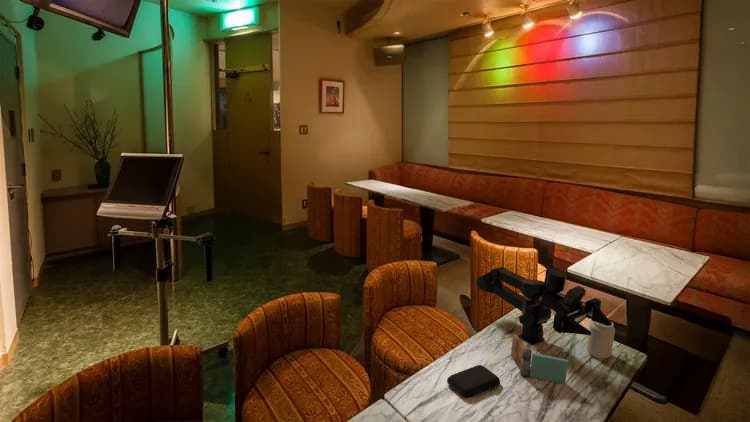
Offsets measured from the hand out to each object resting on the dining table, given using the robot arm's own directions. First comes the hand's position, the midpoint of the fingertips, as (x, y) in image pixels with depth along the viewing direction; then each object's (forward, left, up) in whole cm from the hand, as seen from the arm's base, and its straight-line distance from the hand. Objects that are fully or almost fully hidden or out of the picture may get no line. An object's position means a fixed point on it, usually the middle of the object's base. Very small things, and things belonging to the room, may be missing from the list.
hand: (601, 329), depth 133 cm
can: (-7, +13, -17) cm, 22 cm away
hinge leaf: (-7, -15, -16) cm, 23 cm away
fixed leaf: (-15, -16, -16) cm, 28 cm away
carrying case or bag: (-15, -35, -17) cm, 42 cm away
